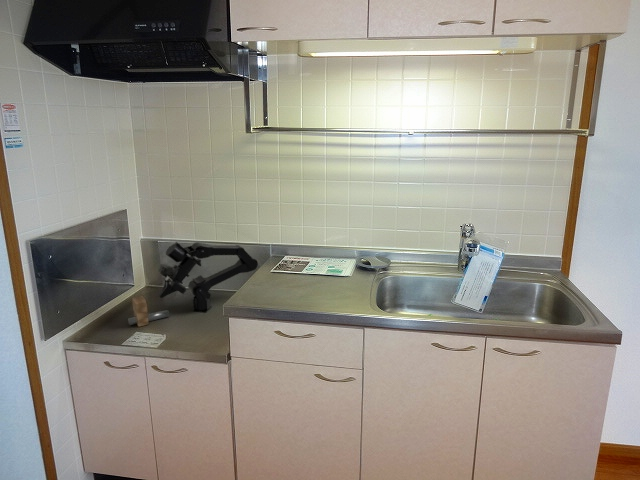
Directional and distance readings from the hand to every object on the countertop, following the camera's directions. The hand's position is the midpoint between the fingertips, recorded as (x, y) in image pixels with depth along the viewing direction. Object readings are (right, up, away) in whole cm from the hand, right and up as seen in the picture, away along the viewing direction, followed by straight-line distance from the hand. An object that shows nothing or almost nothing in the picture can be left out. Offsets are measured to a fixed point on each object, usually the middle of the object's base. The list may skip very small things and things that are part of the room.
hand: (160, 297), depth 199 cm
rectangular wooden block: (-7, -10, -2) cm, 13 cm away
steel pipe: (-4, -10, 0) cm, 11 cm away
